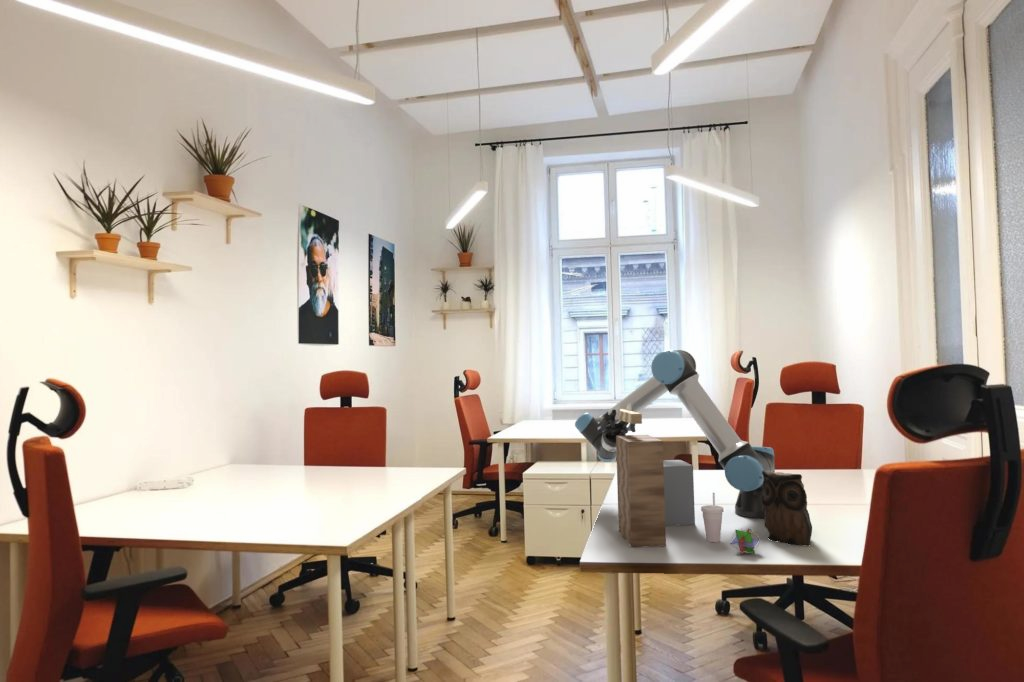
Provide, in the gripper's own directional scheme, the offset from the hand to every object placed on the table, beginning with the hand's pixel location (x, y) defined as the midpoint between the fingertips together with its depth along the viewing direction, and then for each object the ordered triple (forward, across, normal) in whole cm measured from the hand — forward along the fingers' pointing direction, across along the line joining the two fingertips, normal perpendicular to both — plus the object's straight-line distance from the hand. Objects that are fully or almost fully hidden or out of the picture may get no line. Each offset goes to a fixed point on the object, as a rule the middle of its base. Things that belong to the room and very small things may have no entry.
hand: (624, 406), depth 215 cm
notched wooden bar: (0, 0, -5) cm, 5 cm away
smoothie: (-2, -21, -44) cm, 48 cm away
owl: (0, -44, -45) cm, 63 cm away
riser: (-25, -17, -30) cm, 42 cm away
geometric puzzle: (+10, -25, -51) cm, 57 cm away
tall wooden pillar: (-6, -1, -41) cm, 42 cm away
